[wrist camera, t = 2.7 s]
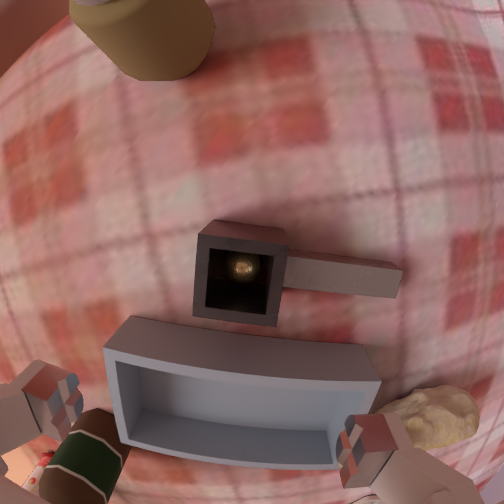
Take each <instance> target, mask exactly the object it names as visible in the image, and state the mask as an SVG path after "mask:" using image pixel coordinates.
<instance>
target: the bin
mask: <svg viewBox="0 0 504 504" xmlns="http://www.w3.org/2000/svg"><path fill="white" fill-rule="evenodd" d="M103 353H104V360H105V367H106V373H107V380H108V385H109V391H110V396H111V402H112V407H113V411H114V416H115V421H116V425H117V429H118V434H119V438H120V442H121V443H124V444H128V445H131V446H135V447H138V448H142V449H146V450H150V451H154V452H158V453H162V454H167V455H171V456H176V457H181V458H186V459H192V460H197V461H203V462H210V463H216V464H224V465H232V466H241V467H252V468H265V469H285V470H327V469H340V467H339V462H338V461H337V458H336V442H337V439H338V436H339V434H340V433H341V432H342V431H344V430H345V425H344V423H345V421H346V418H347V417H348V416H349V415H355V414H368V412H369V410H370V408H371V406H372V403H373V401H374V399H375V397H376V394H377V392H378V390H379V387H380V385H381V382H382V381H381V379H380V377H379V375H378V373H377V371H376V369H375V367H374V366H373V364H372V362H371V360H370V358H369V356H368V354H367V353H366V351H365V349H364V347H363V345H362V344H345V343H329V342H316V341H304V340H293V339H282V338H273V337H263V336H255V335H246V334H239V333H231V332H224V331H217V330H210V329H203V328H197V327H190V326H184V325H178V324H172V323H167V322H161V321H155V320H150V319H145V318H140V317H135V316H129V318H128V319H127V320H126V321H125V322H124V323H123V324H122V326H121V327H120V328H119V329H118V330H117V331H116V332H115V334H114V335H113V336H112V337H111V338H110V339H109V341H108V342H107V343H106V344H105V345H104V346H103Z"/></svg>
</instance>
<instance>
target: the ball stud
mask: <svg viewBox="0 0 504 504" xmlns="http://www.w3.org/2000/svg"><path fill="white" fill-rule="evenodd" d="M263 260H264V257H263V255H262V254H254V253H246V252H238V251H230V250H226V251H225V254H224V270H225V273H226V275H227V276H228V277H229V278H230V279H231V280H232V281H234V282H236V283H248V282H251V281H252V280H254V279H255V278H256V277H257V276H258V274H259V272H260V269H261V267H262V265H263Z"/></svg>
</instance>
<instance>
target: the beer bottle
mask: <svg viewBox="0 0 504 504" xmlns="http://www.w3.org/2000/svg"><path fill="white" fill-rule="evenodd" d="M130 449H131V445H128V444H124V443H121V442H120V438H119V434H118V429H117V425H116V421H115V416H114V415H112V414H110V413H107V412H105V411H102V410H100V409H97V408H96V409H93V410H90V411H87V412H84V413H82V414H81V416H80V417H79V419H78V420H77V421H76V422H75V423H74V425H73V426H72V430H71V431H70V433H69V434H68V436H67V437H66V439H65V440H64V442H63V443H61V445H60V446H59V448H58V449H57V451H56V452H55V454H54V455H53V457H52V458H51V460H50V462H49V463H48V465H47V466H46V468H45V470H44V472H43V474H42V476H41V478H40V483H39V497H40V498H42V499H43V500H45V501H47V502H49V503H51V504H108V501H109V499H110V497H111V494H112V492H113V489H114V487H115V485H116V482H117V480H118V478H119V475H120V473H121V471H122V468H123V466H124V464H125V461H126V459H127V457H128V454H129V451H130Z"/></svg>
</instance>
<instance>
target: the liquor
mask: <svg viewBox="0 0 504 504" xmlns="http://www.w3.org/2000/svg"><path fill="white" fill-rule="evenodd" d="M53 455H54V453H42V454H41V460H40V461H39V463H38V464H37V466H36V467H35V469H34V470H33V471H32V473H31V474H30V476H29V477H28V478H27V480H26V481H25V482H24V484H23V485H22V488H24V489H26V490H27V491H29V492H31V493H33V494H34V495H36V496H38V497H39V483H40V478H41V476H42V474H43V472H44V470H45V468H46V466H47V465H48V463H49V462H50V460H51V458H52V457H53Z"/></svg>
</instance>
